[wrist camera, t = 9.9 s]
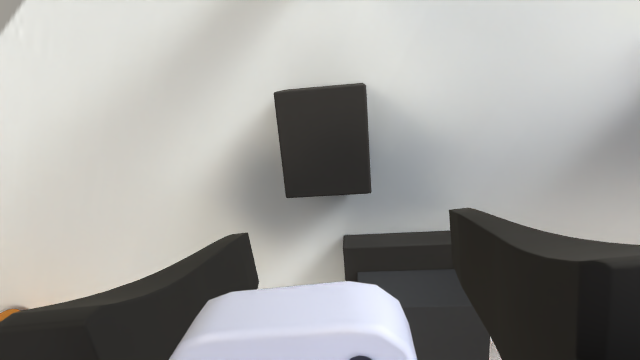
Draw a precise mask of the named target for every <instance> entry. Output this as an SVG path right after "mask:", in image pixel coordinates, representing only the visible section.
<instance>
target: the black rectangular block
mask: <svg viewBox="0 0 640 360" xmlns="http://www.w3.org/2000/svg"><path fill="white" fill-rule="evenodd" d="M357 282H359V283H366V284H373V285H377V286H378V287H380V288H381V289H383V290H384V291H386V292H387V293H388V294H390V295H391V296H393V297H394V298H396V299H397V300H398V301H399V302H400V305H401V307H402V309H403V312H404V314H405V316H406V318H407V321H408V323H409V327H410V331H411V335H412V340H413V344H414V348H415V352H416V356H417V360H489V347H490V335H489V333H488V331H487V330H486V328H485V326H484V325H483V323H482V321H481V319H480V318H479V316H478V314H477V313H476V311H475V309H474V307H473V306H472V304H471V302H470V300H469V299H468V297H467V295H466V293H465V292H464V290H463V288H462V286H461V284H460V281H459V279H458V277H457V274H456V271H455V269H436V270H406V271H376V272H358V273H357Z"/></svg>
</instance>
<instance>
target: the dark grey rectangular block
mask: <svg viewBox="0 0 640 360" xmlns="http://www.w3.org/2000/svg"><path fill="white" fill-rule="evenodd" d="M274 100H275V108H276V117H277V125H278V134H279V142H280V150H281V159H282V167H283V176H284V184H285V192H286V197H287V198H297V197H314V196H332V195H350V194H367V193H371V177H370V157H369V137H368V117H367V97H366V85H365V84H363V83H357V84H346V85H334V86H323V87H312V88H300V89H289V90H282V91H278V92H274Z"/></svg>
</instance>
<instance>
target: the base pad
mask: <svg viewBox="0 0 640 360" xmlns="http://www.w3.org/2000/svg"><path fill="white" fill-rule="evenodd" d="M343 254H344V267H345V280H346V281H351V282H357V273H358V272H376V271H406V270H436V269H454V266H453V263H452V248H451V232H450V231H435V232H412V233H390V234H367V235H345V236H344V240H343Z"/></svg>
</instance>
